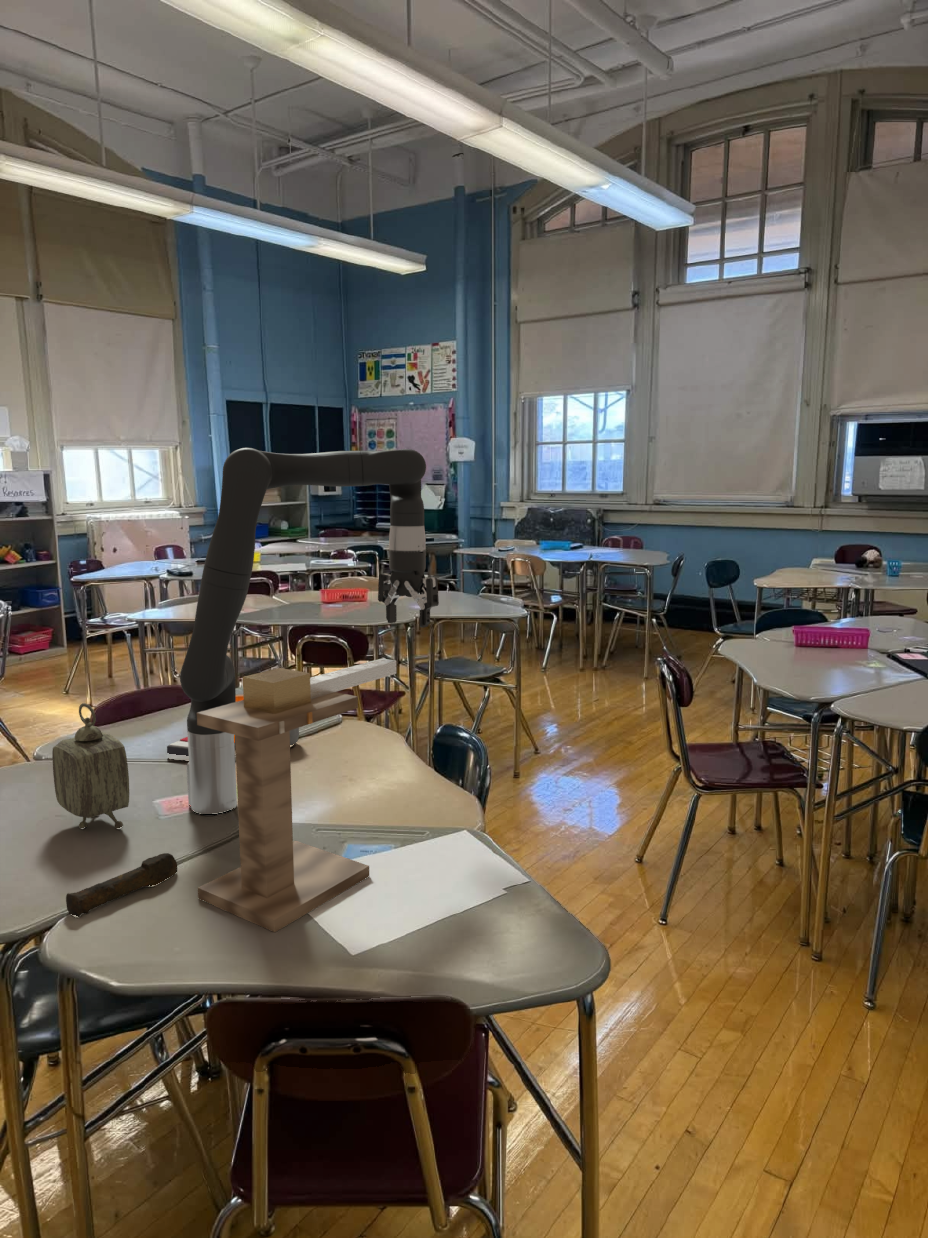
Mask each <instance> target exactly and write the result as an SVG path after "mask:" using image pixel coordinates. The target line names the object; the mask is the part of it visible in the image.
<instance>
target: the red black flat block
mask: <svg viewBox="0 0 928 1238" xmlns="http://www.w3.org/2000/svg"><path fill="white" fill-rule="evenodd" d="M167 753H169V754H176V755H186V756H189V751H188V736H185V737H183V738H180V739H179V740H177V741H175V742H172V743H170V744H169V745H167V746H166V754H167Z"/></svg>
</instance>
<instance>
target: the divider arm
mask: <svg viewBox="0 0 928 1238" xmlns="http://www.w3.org/2000/svg"><path fill="white" fill-rule="evenodd" d="M396 674H397V660H395V659H388V658H387V659H386V658H379V659H375V660H371V661H368V662H364V663H360V664H356V665H352V666H349V667H345V668H342V669H338V670H333V671H330V672H326V673H323V674H319V675H315V676H311V673H309V672H305V671H300V670H294V669H289V668H283V667H277V668H274V669H270V670H265V671H261V672H257V673H252V674H250V675H246V676H242V690H243V696H242V697H243V700H244V707H245V708H250V709H254V710H258V711H263V712H267V713H271V714H277V713H280V712H283V711H287V710H290V709H293V708H296V707H300V706H303V705H306V704H310V703H311V699H313V698H316V697H320V696H323V695H326V694H330V693H333V692H337V693H338V692H339V691H343V690H346V689H350V688H352V687H356V686H359V685H362V684H366V683H369V682H374V681H376V680H380V679H383V678H386V677H389V676H393V675H396Z"/></svg>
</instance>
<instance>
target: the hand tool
mask: <svg viewBox="0 0 928 1238" xmlns="http://www.w3.org/2000/svg"><path fill="white" fill-rule="evenodd" d="M176 872H177V873H178V862H177V860H176V859H175V857H174V856H173V855H172V854H171V853H169V852H168V853H167V852H166V853H165V852H164V853H160V854H158V855H154V856H152V857H148V858H146V859H145V860H143V861H142V862H141V863H140V866H138V867H136V868H134V869H131V870H130V871H126V872H125V873H122V874H119V875H117V876H115V877H112V878H110V879H107V880H105V881H103V882H100V883H96V884H94V885H90V887H85V888H83V889H82V890H79V891H76V892H71V893H70V892H68V893H66V896H65V903H66V910H67V913H68V914H69V915H70V914H72V915H76V916H78V917H79V918H80V917H81V915H83V914H85V915H88V914H90V911H91V910H94V909H96V908H99V907H101V906H103V905H106V904H107V903H110V902H113V901H114V900H117V899H120V898H121V897H124V896H127V895H129V894H130V893H133V892H135V891H138V890H140V889H143V888H145V887H146V886H149V885H150V886H152V885H156V884H158V883H160V882H162V881H164V880H165V879H167V878H169V877H170V878H171V876H172V875H173V876H175V875H176V874H177V873H176ZM175 873H176V874H175ZM173 876H172V877H173ZM170 878H169V879H170ZM167 880H168V879H167ZM164 882H165V881H164ZM162 883H163V882H162ZM146 888H147V887H146ZM72 915H71V916H72Z"/></svg>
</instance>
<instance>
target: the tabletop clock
mask: <svg viewBox="0 0 928 1238" xmlns="http://www.w3.org/2000/svg"><path fill="white" fill-rule="evenodd" d="M83 708H86V709H88V710H89V711H90V713H91V716H92V722H91V718H90V717H88V716H87V717H86V718H85V717H84V716H83V714H82V710H83ZM78 715H79V718H80V720H81V722H82V723H83V724H84V726H82V727H80V728H78V729H77V731H76V732H75V733H74V737H70V738H67V739H63V740H61V741H59V742H58V743H57V744H55V746H53V747H52V752H51V753H52V756H51V757H52V771H53V772H52V774H53V775H52V776H53V783H54V784H53V785H54V793H55V797H56V801H57V803H58V805H60V806H61V807H62V808H63V809H64V810H66V811H67V812H68V813H70V814H71V815H74V816H76V817H82V821H81V822H79V824H78V828H79V827H80V828H84V827H87V828H88V826H89V825H88V822H87V819H91V818H93V817H97V816H101V815H106V816H107V817H109V818H110V819H111V820H112V822H113V823H114V825H113V827H114V829H116V828H120V827H122V826H123V827H124V823H123V821H121V820H117V818H116V816H115V815H114V813H113V812H114V811H118V810H119V811H120V810H122V809H125V808H128V807H129V804H130V776H129V766H128V758H127V751H126V749H125V746H124V744H123V743H122V741H120V740H119V739H118V738H116V737H114V736H113V735H111V734H109V733H106V732H103V731H101V729H100V728H99V727H98V726H95V724H96V720H97V719H96V713H95V711H94V708H93V707H92V706H91V705H90V704H89V703H87V702H86V703H85V702H83V703H81V704H79V706H78ZM123 827H122V828H123ZM80 828H79V829H80Z"/></svg>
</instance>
